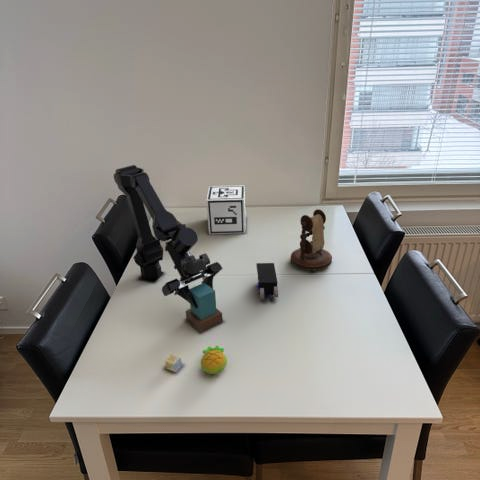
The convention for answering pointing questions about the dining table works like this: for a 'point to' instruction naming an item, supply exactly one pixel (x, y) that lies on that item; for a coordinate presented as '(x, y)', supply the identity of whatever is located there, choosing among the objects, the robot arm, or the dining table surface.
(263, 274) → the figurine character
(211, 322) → the walnut base
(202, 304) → the teal block
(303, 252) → the brown upright piece
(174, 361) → the alphabet block
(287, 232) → the dining table surface
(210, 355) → the toy pineapple
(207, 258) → the robot arm
